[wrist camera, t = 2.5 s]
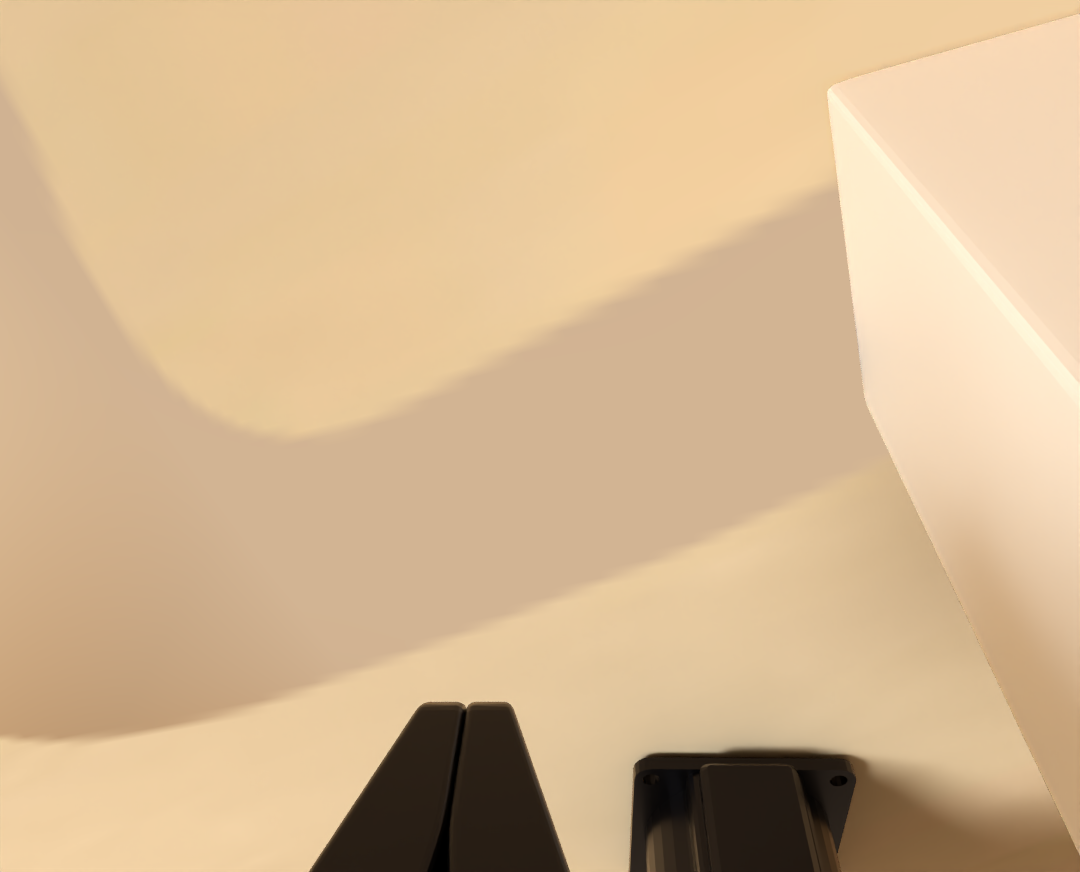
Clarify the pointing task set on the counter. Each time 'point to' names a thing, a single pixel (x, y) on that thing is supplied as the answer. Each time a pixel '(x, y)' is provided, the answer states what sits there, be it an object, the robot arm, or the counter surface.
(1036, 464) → the milk carton
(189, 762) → the counter surface
